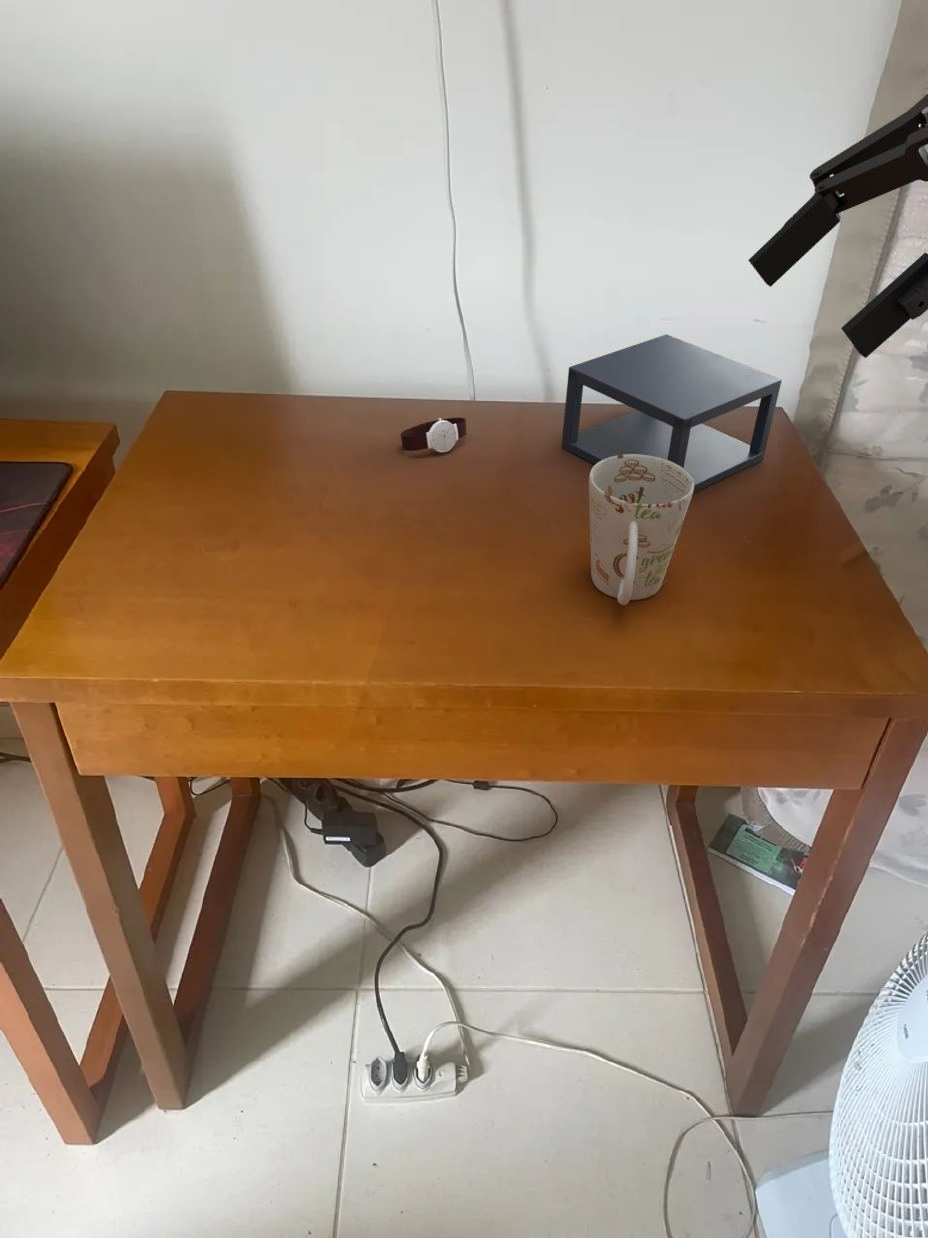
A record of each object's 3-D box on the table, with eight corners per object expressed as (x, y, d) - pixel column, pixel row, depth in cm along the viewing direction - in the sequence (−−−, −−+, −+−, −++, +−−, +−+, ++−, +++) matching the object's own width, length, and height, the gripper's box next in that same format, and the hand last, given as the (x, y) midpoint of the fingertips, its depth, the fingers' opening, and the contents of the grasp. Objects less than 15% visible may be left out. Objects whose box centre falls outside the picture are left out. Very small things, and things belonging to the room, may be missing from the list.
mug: (673, 558, 88) (692, 458, 82) (678, 645, 78) (699, 539, 72) (579, 549, 88) (591, 449, 82) (572, 634, 78) (585, 528, 72)
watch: (415, 464, 100) (415, 431, 98) (390, 446, 103) (390, 414, 101) (476, 444, 104) (477, 413, 102) (450, 428, 107) (450, 397, 105)
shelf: (763, 460, 103) (782, 379, 98) (669, 504, 95) (684, 419, 90) (654, 410, 112) (666, 333, 107) (560, 447, 104) (568, 366, 99)
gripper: (1242, 150, 56) (927, 415, 62) (970, 71, 75) (751, 280, 81) (1210, 44, 52) (875, 340, 58) (930, -11, 71) (702, 217, 77)
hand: (802, 306), depth 70 cm, fingers open, 13 cm apart
